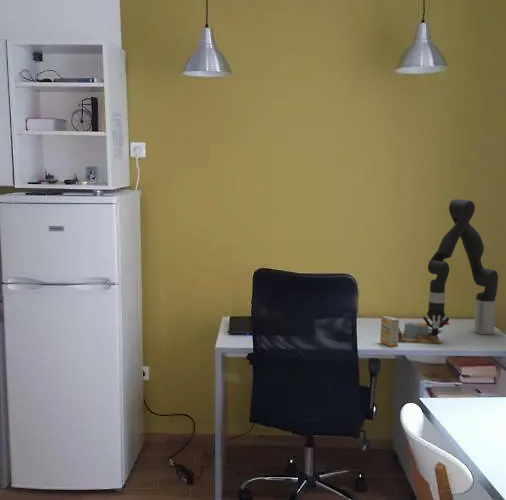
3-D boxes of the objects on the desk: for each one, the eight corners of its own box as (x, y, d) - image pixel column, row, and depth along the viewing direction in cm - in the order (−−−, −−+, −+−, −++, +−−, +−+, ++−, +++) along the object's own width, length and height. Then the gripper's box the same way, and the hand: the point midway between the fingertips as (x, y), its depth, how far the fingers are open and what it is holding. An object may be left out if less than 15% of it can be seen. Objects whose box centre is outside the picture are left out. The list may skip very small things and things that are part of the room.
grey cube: (426, 335, 326) (426, 323, 325) (427, 338, 320) (428, 325, 319) (415, 335, 326) (416, 322, 326) (417, 338, 320) (418, 325, 320)
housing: (414, 336, 326) (415, 320, 325) (415, 338, 321) (416, 323, 320) (404, 335, 326) (404, 320, 325) (405, 338, 322) (405, 322, 321)
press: (436, 337, 328) (437, 329, 328) (440, 344, 316) (441, 335, 316) (396, 336, 331) (396, 327, 330) (398, 342, 319) (398, 333, 318)
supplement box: (379, 342, 317) (380, 316, 316) (388, 341, 319) (389, 315, 318) (389, 347, 310) (390, 319, 308) (398, 346, 312) (399, 319, 310)
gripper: (423, 301, 317) (422, 336, 319) (452, 303, 315) (450, 338, 317) (421, 299, 324) (420, 333, 326) (449, 300, 323) (447, 334, 325)
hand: (434, 335), depth 322 cm, fingers closed
